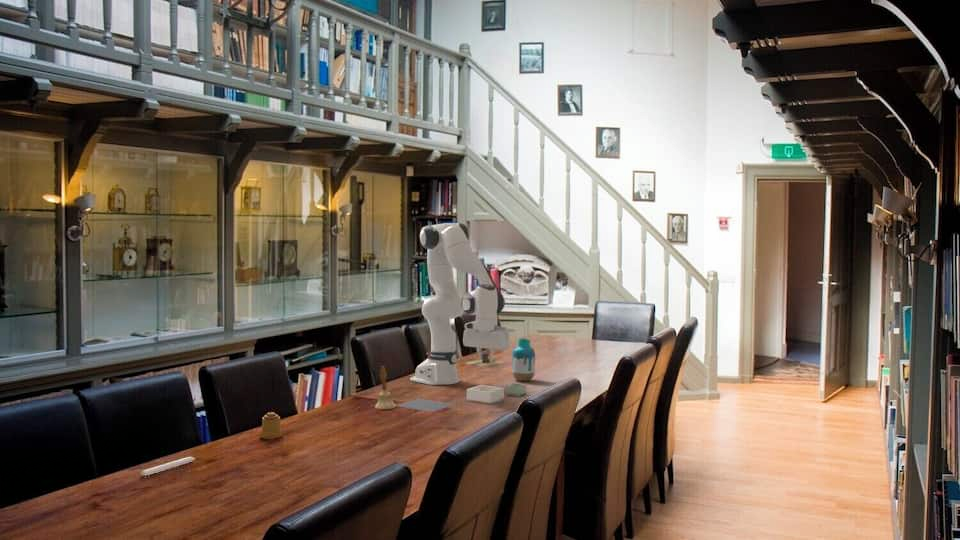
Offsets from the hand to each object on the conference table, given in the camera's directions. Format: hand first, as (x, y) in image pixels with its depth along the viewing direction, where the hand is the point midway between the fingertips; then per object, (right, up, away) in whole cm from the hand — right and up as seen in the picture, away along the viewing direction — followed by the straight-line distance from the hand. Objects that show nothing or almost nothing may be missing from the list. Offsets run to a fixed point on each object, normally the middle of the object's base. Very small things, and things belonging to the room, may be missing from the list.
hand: (485, 359), depth 326 cm
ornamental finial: (-71, -20, -58) cm, 94 cm away
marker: (-91, -22, -94) cm, 133 cm away
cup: (+13, -16, +14) cm, 25 cm away
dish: (0, -17, +1) cm, 17 cm away
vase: (+17, -15, +44) cm, 50 cm away
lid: (0, -2, 0) cm, 2 cm away
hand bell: (-39, -17, -14) cm, 45 cm away
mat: (-24, -17, -10) cm, 31 cm away
